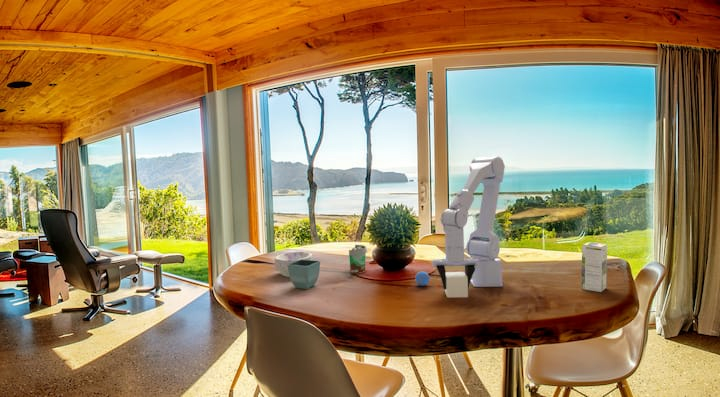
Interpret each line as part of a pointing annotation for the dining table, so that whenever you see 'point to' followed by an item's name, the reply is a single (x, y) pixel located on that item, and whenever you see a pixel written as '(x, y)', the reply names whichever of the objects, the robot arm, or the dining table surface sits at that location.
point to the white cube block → (456, 284)
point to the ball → (422, 278)
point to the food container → (357, 259)
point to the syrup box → (594, 266)
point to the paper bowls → (289, 260)
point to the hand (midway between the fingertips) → (455, 288)
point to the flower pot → (304, 273)
